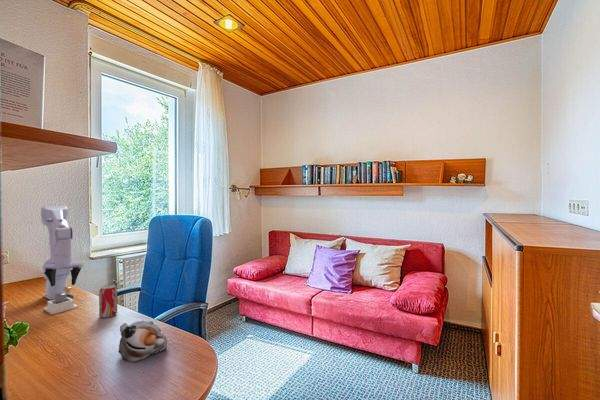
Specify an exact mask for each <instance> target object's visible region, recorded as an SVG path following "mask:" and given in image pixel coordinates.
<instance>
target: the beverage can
mask: <svg viewBox="0 0 600 400" xmlns="http://www.w3.org/2000/svg"><path fill="white" fill-rule="evenodd" d="M98 305H99V307H98V310H99V311H98V314H99V317H101V318H103V319H105V318H108V319H109V318H111V317H114V316H115V315H116V314H118V289H117V287H116V285H115V284H107V285H106V284H105V285H103V286H101V287H100V289H99V291H98Z"/></svg>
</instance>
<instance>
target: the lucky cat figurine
mask: <svg viewBox="0 0 600 400" xmlns="http://www.w3.org/2000/svg"><path fill="white" fill-rule="evenodd" d="M161 331H162V330H161V328H160V327H159V326H157V325H156V324H155V323H154V322H153V321H151V320H150V321H144V320H140V321H139V320H138V321H135V322H133V323H131V324H130V325H128V324H127V323H125V322H124V323H122V324H121V325H120V327H119V332H120V336H121V337H120V340H119V344H118V351H117V352H118V353H119V354H120V356H121V360H123V361H126V362H130V363H136V362H138V361H140V360H143V359H145V358H147V357H148V356H151V354H152V355H154V353H155V354H157V353H160V352H162V350H163V351H165V350H166V349H167V345H168V339H167V336H166V335H165V334H163V333H161ZM165 348H166V349H165ZM164 349H165V350H164ZM159 351H160V352H159Z"/></svg>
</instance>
